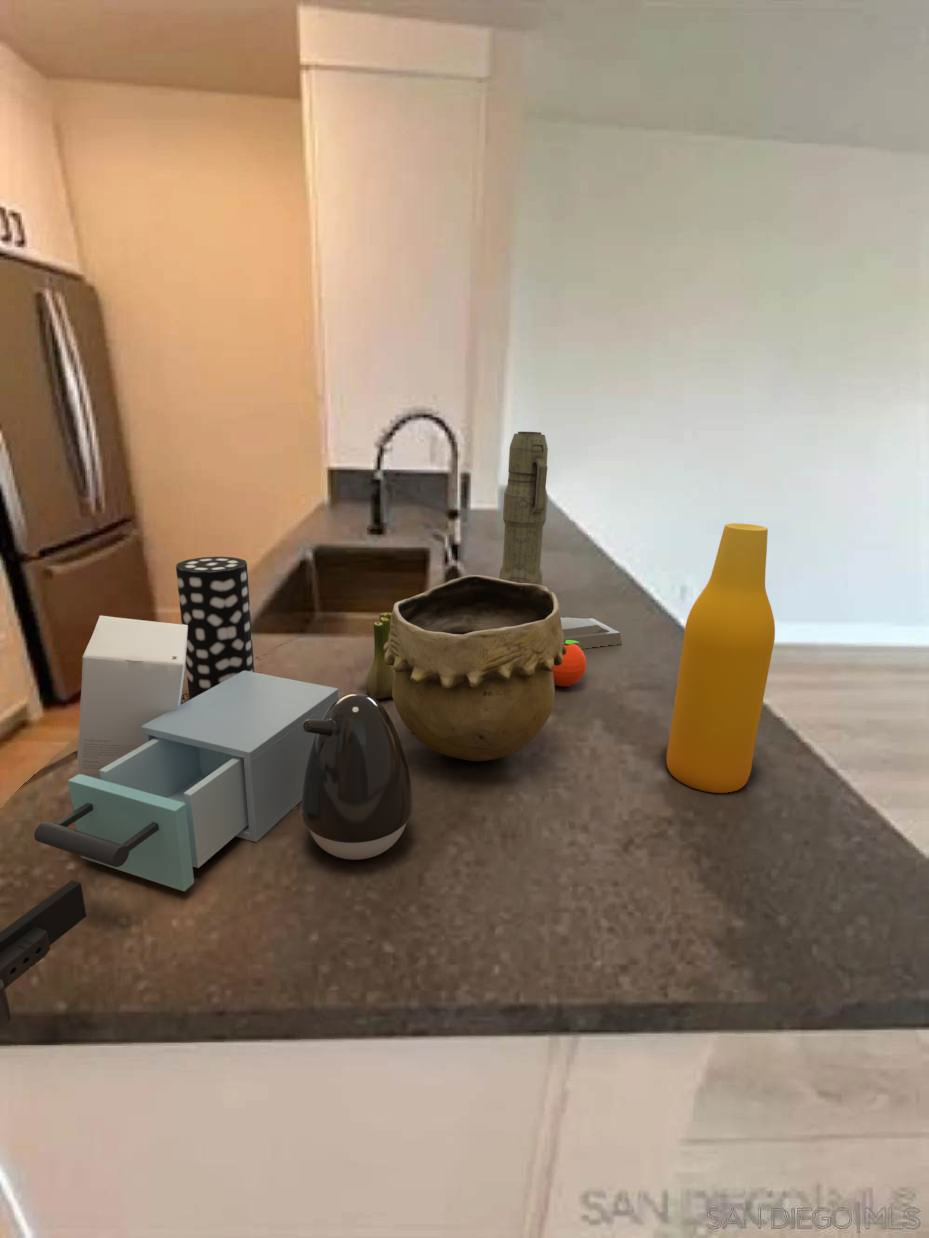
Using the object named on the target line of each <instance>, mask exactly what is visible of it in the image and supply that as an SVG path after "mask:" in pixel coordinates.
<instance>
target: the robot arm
mask: <svg viewBox="0 0 929 1238" xmlns="http://www.w3.org/2000/svg"><path fill="white" fill-rule="evenodd" d="M86 917H87V912H86V905H85V900H84V893H83V888H82V882H79V881H76V880H73V879H72V880H70V881H69V882H67V883H66V884H64V885H63V886H61V887H60V888H59V889H57V890H56V891H55V892H53V893H52V894H50V895H49V896H47V898H45V899H43V900H42V901H41V902H39V903H38V904H37V905H35V906H34V907H33V908H31V909H30V910H28V911H27V912H26V913H24V914H23V915H22V916H20V917H19V918H18V919H16V920H15V921H14V922H12V923H11V924H9V925H8V926H6V927H5V928H4V929H2V930H1V931H0V1030H1V1029H3V1028H5V1027H6V1026H7V1025H8V1024H9V1023H10V1021H11V1020H12V1013H11V1010H10V1004H9V1001H8V997H7V993H6V989H7V988H8V987H9V986H10V985H11V984H13V983H14V982H15V981H16V980H18V979H19V978H20V977H21V976H23V975H24V974H25V973H26V972H28V971H29V970H30V969H31V968H32V967H33V966H35V965H36V964H37V963H39V962H40V961H41V960H42V959H44V958H45V957H46V955H48V953H49V952H50V951H51V946H52V945H53V944H54V943H55V942H57V941H58V940H59V939H60V938H61V937H63V936H64V935H65V934H67V933H68V932H69V931H70V930H72V929H73V927H75V926H77V925H78V924H79V923H80V922H81V921H83V920H84V919H86Z"/></svg>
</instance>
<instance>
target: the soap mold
mask: <svg viewBox="0 0 929 1238" xmlns="http://www.w3.org/2000/svg"><path fill="white" fill-rule="evenodd" d="M560 618H561V625H562V631H563V634H564V637H563V639H564V640H574V641H577V642H579V643H575V644H576V645H577V646H579V647H580V648H581V650H585V649H584V647H583V646H582V645H581V644H583V645H584V646H585V648H589V649H593V648H592V647H597V648H601V647H600V646H606V647H609V646H608V645H614V646H618V645H617V644H622V645H623V643H622V637H621V632H620V631H617V630H616V629H614V628H613V627H610V626H608V625H606V624H604V623H603V622H601V621H598V620H597V619H594V618H593V617H589V618H579V617H560ZM580 643H581V644H580Z"/></svg>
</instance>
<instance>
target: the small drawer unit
mask: <svg viewBox="0 0 929 1238" xmlns="http://www.w3.org/2000/svg"><path fill="white" fill-rule="evenodd" d="M339 698H340V697H339V688H338V687H332V686H328V685H322V684H316V683H313V682H312V683H311V682H305V681H301V680H296V679H291V678H286V677H280V676H275V675H270V674H266V673H265V674H264V673H260V672H256V671H254V672H250V671H245V670H244V671H242V672H240V673H238V674H237V675H235V676H233V677H231V678H229V679H227V680H225V681H224V682H222V683H220V684H218V685H216V686H214V687H213V688H211V689H209V690H207V691H205V692H203V693H201V694H200V695H198V696H196V697H194V698H192V699H190V700H189V699H188V700H186V701H185V702H182V704H181V703H180V705H179V707H178V710H172V711H168V712H166V713H165V714H163V715H161V716H159V717H157V718H155V719H153V720H152V721H150V722H148V723H146V724H144V725H142V726H141V732H142V740H143V745H144V744H145V743H147V742H149V741H150V740H152V739H154V738H156V737H159V738H163V739H167V740H171V741H175V742H179V743H183V744H187V745H191V746H196V747H200V748H204V749H208V750H212V751H216V752H220V753H224V754H228V755H233V756H237V757H241V758H244V772H245V785H246V798H247V811H248V824H249V825H247V826H246V827H245V828H244V829H243V830H242V831H240V832H239V833H238V834H237V835H236V836H235V837H237V838H240V839H243V840H246V841H250V842H254V843H258V842H259V841H260V840H261V838H263V837H264V836H265V835H266V834H267V833H268V832H269V831H270V830H272V829H273V827H275V826H276V825H277V824H278V823H280V821H281V820H282V819H284V817H286V816H287V814H288V815H289V813H291V811H292V810H293V809H294V808H296V806H297V805H298V804H299V803H301V802H302V795H303V786H304V778H305V772H306V767H307V762H308V758H309V754H310V751H311V748H312V744H313V741H314V738H315V735H316V734H315V733H309V732H305V731H304V729H303V723H304V721H305V720H322V719H323V717H324V715H325V714H326V712H327V711H328V709H329V708H330V706H331V705H332V704H333V703H334V702H335V701H336V700H337V699H339Z"/></svg>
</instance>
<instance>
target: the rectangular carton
mask: <svg viewBox="0 0 929 1238" xmlns="http://www.w3.org/2000/svg"><path fill="white" fill-rule="evenodd" d="M187 632H188V625H182V623H181V624H180V623H171V622H163V621H162V622H161V621H155V620H154V621H152V620H145V619H144V620H142V619H134V618H125V617H117V616H116V617H115V616H109V615H100V614H99V615H98V620H97V621H96V624H95V627H94V630H93V633H92V634H91V637H90V640H89V641H88V644H87V646H86V648H85V651H84V653H83V654H82V668H81V688H80V689H81V691H80V704H79V705H80V706H79V724H78V739H77V740H78V741H77V759H76V774H75V776H77V775H78V774H82V775H86V776H89V777H93V778H97V779H100V772H99V770H100V769H102V768H104V767H105V766H107V765H109V764H111V763H112V762H114V761H116V760H117V759H119V758H121V757H123V756H124V755H126V754H128V753H130V752H131V751H133V750H135V749H137V748H138V747H140V746H142V745H143V740H142V732H141V726H142V725H144V724H146V723H148V722H150V721H152V720H153V719H155V718H157V717H159V716H161V715H163V714H165V713H166V712H168V711H172V710H178V707H179V705H181V703H182V696H183V686H184V677H185V670H186V649H187ZM100 780H101V779H100Z"/></svg>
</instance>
